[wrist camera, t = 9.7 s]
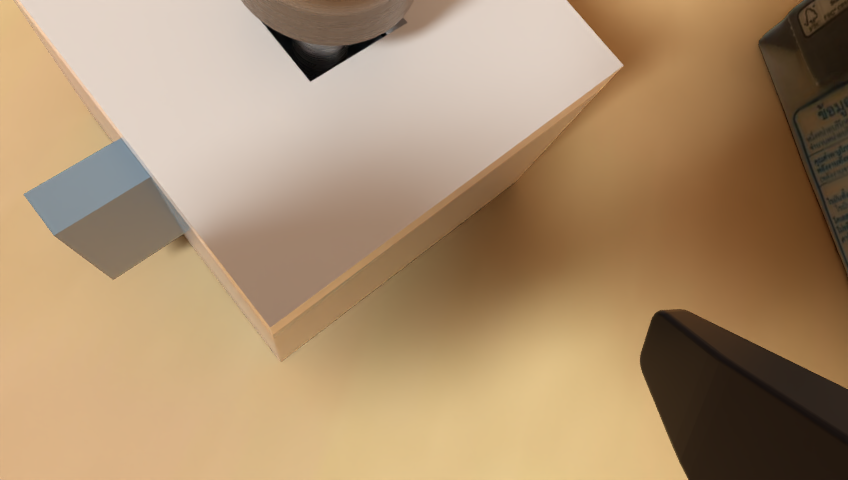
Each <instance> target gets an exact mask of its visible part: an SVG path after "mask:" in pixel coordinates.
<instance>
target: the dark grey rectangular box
mask: <svg viewBox="0 0 848 480" xmlns="http://www.w3.org/2000/svg"><path fill="white" fill-rule="evenodd" d="M759 47H760V49H761V51H762V54H763V57H764V59H765V62H766V65H767V67H768V70H769V73H770V75H771V78H772V80H773V83H774V85H775V88H776V90H777V93H778V95H779V98H780V100H781V103H782V106H783V108H784V111H785V114H786V117H787V119H788V122H789V125H790V128H791V131H792V134H793V137H794V139H795V142H796V145H797V148H798V150H799V153H800V156H801V159H802V161H803V164H804V167H805V170H806V172H807V175H808V177H809V180H810V182H811V185H812V187H813V190H814V192H815V194H816V197H817V199H818V202H819V204H820V207H821V209H822V212H823V214H824V217H825V219H826V222H827V224H828V227H829V229H830V232H831V234H832V237H833V240H834V242H835V245H836V247H837V250H838V252H839V255H840V257H841V260H842V262H843V265H844V267H845V269H846V273H847V276H848V0H804V1H802V2H801V3H800V4H798V5H797V6H796V7H794V8H793V9H792V10H791V11H790V12H789V13H788V15H787V16H786V17H785V18H784V19H783V20H782V21H781V22H780V23H778V24H777V25H776V26H774V27H773V28H772V29H771V30H769V31H768V32H767V33H765V35H764V36H763V37H762V38H761V39H760V40H759Z"/></svg>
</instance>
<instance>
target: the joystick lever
mask: <svg viewBox="0 0 848 480" xmlns="http://www.w3.org/2000/svg"><path fill="white" fill-rule="evenodd" d="M241 1H242V2H243V4H244V5H245V6H246V7H247V8H248V9H249V10H250V12H251V13H252V14H253V15H255V16H256V17H257V18H258V19H259V20H260V21H262V22H263V23H264V24H265V27H266V28H267V29H268V30H269V32H270V33H271V34H272V35H273V37H274V38H275V39H276V40H277V41H278V43H279V44H280V45H281V46H282V48H283V49H284V50H285V51H286V53H287V54H288V55H289V56H290V57H291V59H292V60H293V61H294V62H295V64H296V65H297V66H298V67H299V69H300V70H301V71H302V72H303V73H304V75H305V76H306V77H307V78H308V80H309V81H310V82H311V81H313V80H314V79H316V78H317V77H319V76H321V75H322V74H324V73H326V72H327V71H329V70H331V69H332V68H334V67H336V66H337V65H339V64H340V63H342V62H344V61H345V60H347V59H349V58H350V57H352V56H354V55H355V54H357V53H358V52H360V51H362V50H363V49H365V48H367V47H368V46H370V45H372V44H373V43H375V42H376V41H378V40H380V39H381V38H383V37H382V36H381V34H383V33H385V32H386V31H388V30H389V29H390V28H392V27H393V26H395V25H396V24H397V23H398V22H399V21H400V20H401V19H402V18H403V17H404V15H405V14H406V13H407V11H408V10H409V9H410V7H411V5H412V3H413V1H414V0H241Z"/></svg>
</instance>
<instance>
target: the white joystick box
mask: <svg viewBox="0 0 848 480" xmlns="http://www.w3.org/2000/svg"><path fill="white" fill-rule="evenodd" d="M14 2H15V3H16V5H17V6H18V8H19V9H20V10H21V12H22V13H23V15H24V16H25V18H26V19H27V21H28V22H29V24H30V25H31V27H32V28H33V30H34V31H35V32H36V34H37V35H38V37H39V38H40V40H41V41H42V43H43V44H44V46H45V47H46V49H47V50H48V52H49V53H50V54H51V56H52V57H53V59H54V60H55V62H56V63H57V65H58V66H59V68H60V69H61V71H62V72H63V74H64V75H65V76H66V78H67V79H68V81H69V82H70V84H71V85H72V87H73V88H74V90H75V91H76V93H77V94H78V96H79V97H80V98H81V100H82V101H83V103H84V104H85V106H86V107H87V109H88V110H89V112H90V113H91V114H92V116H93V117H94V118H95V120H96V121H97V122H98V124H99V125H100V126H101V127H102V129H103V130H104V131H105V133H106V134H107V135H108V137H109V138H110V139H111V141H112V142H113V143H111V144H110V145H108V146H106V147H104V148H103V149H101V150H99V151H97V152H96V153H94V154H92V155H91V156H89V157H87V158H85V159H84V160H82V161H80V162H78V163H77V164H75V165H73V166H72V167H70V168H68V169H66V170H65V171H63V172H61V173H59V174H58V175H56V176H54V177H52V178H51V179H49V180H47V181H46V182H44V183H42V184H40V185H39V186H37V187H35V188H33V189H32V190H30V191H28V192H27V193H25V194H24V196H25V197H26V198H27V200H28V201H29V203H30V204H31V205H32V207H33V208H34V209H35V211H36V212H37V213H38V215H39V216H40V217H41V219H42V220H43V221H44V223H45V224H46V226H47V227H48V228H49V230H50V231H51V232H52V234H53V235H54V236H55V237H57V238H58V239H59V240H61V241H62V242H63V243H65V244H66V245H67V246H69V247H70V248H71V249H73V250H74V251H75V252H77V253H78V254H79V255H81V256H82V257H83V258H85V259H86V260H87V261H89V262H90V263H91V264H93V265H94V266H95V267H97V268H98V269H99V270H101V271H102V272H103V273H105V274H106V275H108V276H109V277H110V278H112V279H113V280H114V279H115V278H117V277H119V276H120V275H122V274H123V273H125V272H126V271H128V270H129V269H131V268H132V267H134V266H135V265H137V264H138V263H140V262H142V261H143V260H145V259H146V258H148V257H149V256H151V255H152V254H154V253H155V252H157V251H158V250H160V249H161V248H163V247H165V246H166V245H168V244H169V243H171V242H172V241H174V240H175V239H177V238H178V237H180V236H181V235H184V236H185V237H186V239H187V240H188V241H189V243H190V244H191V245H192V247H193V248H194V249H195V251H196V252H197V253H198V254H199V256H200V257H201V258H202V260H203V261H204V262H205V264H206V265H207V266H208V268H209V269H210V270H211V271H212V273H213V274H214V275H215V277H216V278H217V279H218V281H219V282H220V283H221V285H222V286H223V287H224V289H225V290H226V291H227V292H228V294H229V295H230V296H231V298H232V299H233V300H234V302H235V303H236V304H237V306H238V307H239V308H240V309H241V311H242V312H243V313H244V315H245V316H246V317H247V319H248V320H249V321H250V323H251V324H252V325H253V326H254V328H255V329H256V330H257V332H258V333H259V334H260V336H261V337H262V338H263V340H264V341H265V342H266V343H267V345H268V346H269V347H270V349H271V350H272V351H273V353H274V354H275V355H276V357H277V358H278V359H279V361H280V362H282V361H283V360H284V359H286V358H287V357H288V356H289V355H291V354H292V353H293V352H295V351H296V350H297V349H299V348H300V347H301V346H302V345H304V344H305V343H306V342H308V341H309V340H310V339H312V338H313V337H314V336H315V335H317V334H318V333H319V332H321V331H322V330H323V329H325V328H326V327H327V326H329V325H330V324H331V323H332V322H334V321H335V320H336V319H338V318H339V317H340V316H342V315H343V314H344V313H345V312H347V311H348V310H349V309H351V308H352V307H353V306H355V305H356V304H357V303H359V302H360V301H361V300H362V299H364V298H365V297H366V296H368V295H369V294H370V293H372V292H373V291H374V290H375V289H377V288H378V287H379V286H381V285H382V284H383V283H385V282H386V281H387V280H388V279H390V278H391V277H392V276H394V275H395V274H396V273H398V272H399V271H400V270H402V269H403V268H404V267H405V266H407V265H408V264H409V263H411V262H412V261H413V260H415V259H416V258H417V257H418V256H420V255H421V254H422V253H424V252H425V251H426V250H428V249H429V248H430V247H431V246H433V245H434V244H435V243H437V242H438V241H439V240H441V239H442V238H443V237H445V236H446V235H447V234H448V233H450V232H451V231H452V230H454V229H455V228H456V227H458V226H459V225H460V224H461V223H463V222H464V221H465V220H467V219H468V218H469V217H471V216H472V215H473V214H474V213H476V212H477V211H478V210H480V209H481V208H482V207H484V206H485V205H486V204H488V203H489V202H490V201H491V200H493V199H494V198H495V197H497V196H498V195H499V194H501V193H502V192H503V191H504V190H506V189H507V188H508V187H510V186H511V185H512V184H514V183H515V182H516V181H517V180H518V179H519V178H520V177H521V176H522V175H523V173H524V172H525V171H526V170H527V169H528V168H529V167H530V166H531V165H532V164H533V163H534V162H535V161H536V159H537V158H538V157H539V156H540V155H541V154H542V153H543V152H544V151H545V150H546V149H547V148H548V147H549V145H550V144H551V143H552V142H553V141H554V140H555V139H556V138H557V137H558V136H559V135H560V134H561V133H562V131H563V130H564V129H565V128H566V127H567V126H568V125H569V124H570V123H571V122H572V121H573V120H574V118H575V117H576V116H577V115H578V114H579V113H580V112H581V111H582V110H583V109H584V108H585V107H586V106H587V104H588V103H589V102H590V101H591V100H592V99H593V98H594V97H595V96H596V95H597V94H598V93H599V92H600V90H601V89H602V88H603V87H604V86H605V85H606V84H607V83H608V82H609V81H610V80H611V79H612V78H613V76H614V75H615V74H616V73H617V72H618V71H619V70H620V69H621V68H622V67H623V66H624V65H623V64H622V63H621V62H620V61H619V60H618V58H617V57H616V56H615V55H614V54H613V53H612V52H611V50H610V49H609V48H608V47H607V46H606V45H605V44H604V42H603V41H602V40H601V39H600V38H599V37H598V36H597V34H596V33H595V32H594V31H593V30H592V29H591V28H590V26H589V25H588V24H587V23H586V22H585V21H584V20H583V18H582V17H581V16H580V15H579V14H578V13H577V12H576V10H575V9H574V8H573V7H572V6H571V5H570V4H569V2H568V1H567V0H414V1H413V3H412V5H411V7H410V9H409V10H408V11H407V13H406V14H405V15H404V17H403V18H402V19H401V20H400V21H399V22H398V23H397V24H396V25H395V26H393V27H392V28H390V29H389V30H388V31H386V32H385V33H383V34H381V36H382V37H383V38H381V39H380V40H378V41H376V42H375V43H373V44H372V45H370V46H368V47H367V48H365V49H363V50H362V51H360V52H358V53H357V54H355V55H354V56H352V57H350V58H349V59H347V60H345V61H344V62H342V63H340V64H339V65H337V66H336V67H334V68H332V69H331V70H329V71H327V72H326V73H324V74H322V75H321V76H319V77H317V78H316V79H314V80H313V81H311V82H310V81H309V80H308V78H307V77H306V76H305V75H304V73H303V72H302V71H301V70H300V69H299V67H298V66H297V65H296V64H295V62H294V61H293V60H292V59H291V57H290V56H289V55H288V54H287V53H286V51H285V50H284V49H283V48H282V46H281V45H280V44H279V43H278V41H277V40H276V39H275V38H274V37H273V35H272V34H271V33H270V32H269V30H268V29H267V28H266V27H265V24H264V23H263V22H262V21H260V20H259V19H258V18H257V17H256V16H255V15H253V14H252V13H251V12H250V10H249V9H248V8H247V7H246V6H245V5H244V4H243V2H242V1H241V0H14Z"/></svg>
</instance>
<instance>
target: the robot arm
mask: <svg viewBox="0 0 848 480" xmlns="http://www.w3.org/2000/svg"><path fill="white" fill-rule="evenodd" d="M640 365H641V370H642V373H643V375H644V378H645V380H646V383H647V385H648V388H649V390H650V393H651V395H652V397H653V400H654V402H655V405H656V407H657V410H658V412H659V414H660V417H661V419H662V422H663V424H664V427H665V429H666V432H667V434H668V436H669V439H670V441H671V444H672V446H673V448H674V451H675V453H676V455H677V457H678V460H679V462H680V464H681V466H682V468H683V470H684V472H685V474H686V476H687V478H688V480H848V389H846V388H844V387H842V386H840V385H838V384H836V383H834V382H832V381H830V380H828V379H826V378H824V377H821V376H819V375H817V374H815V373H813V372H811V371H809V370H807V369H805V368H803V367H801V366H799V365H797V364H795V363H793V362H791V361H789V360H787V359H785V358H783V357H781V356H779V355H777V354H775V353H772V352H770V351H768V350H766V349H764V348H762V347H760V346H758V345H756V344H754V343H752V342H750V341H748V340H746V339H744V338H742V337H740V336H738V335H736V334H734V333H732V332H730V331H728V330H726V329H724V328H721V327H719V326H717V325H715V324H713V323H711V322H709V321H707V320H705V319H703V318H701V317H699V316H697V315H695V314H693V313H691V312H689V311H686V310H682V309H677V310H660V311H658V312H656V313H655V314H654V316H653V317H652V320H651V323H650V326H649V329H648V332H647V335H646V338H645V342H644V345H643V348H642V351H641V355H640Z"/></svg>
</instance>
